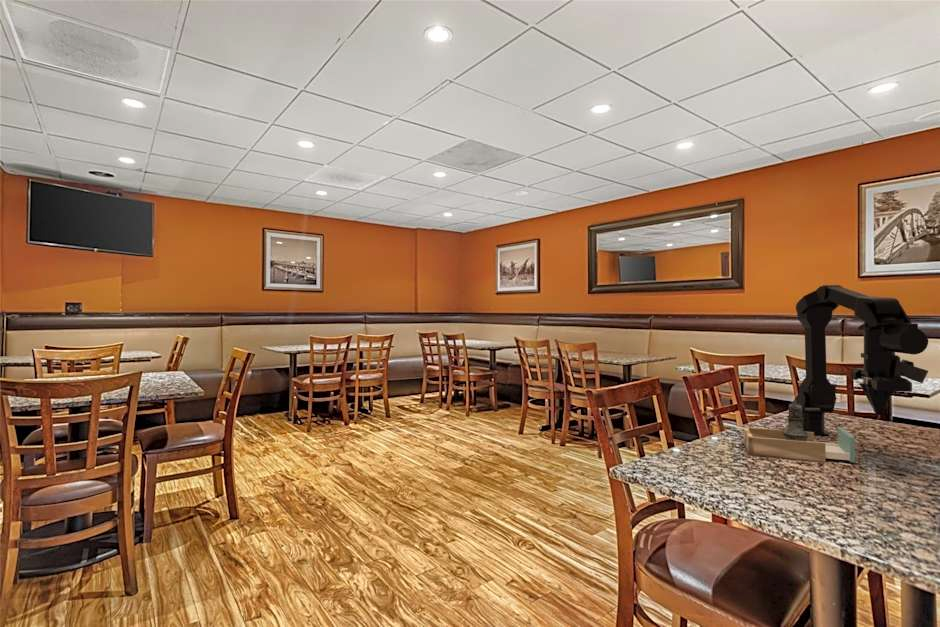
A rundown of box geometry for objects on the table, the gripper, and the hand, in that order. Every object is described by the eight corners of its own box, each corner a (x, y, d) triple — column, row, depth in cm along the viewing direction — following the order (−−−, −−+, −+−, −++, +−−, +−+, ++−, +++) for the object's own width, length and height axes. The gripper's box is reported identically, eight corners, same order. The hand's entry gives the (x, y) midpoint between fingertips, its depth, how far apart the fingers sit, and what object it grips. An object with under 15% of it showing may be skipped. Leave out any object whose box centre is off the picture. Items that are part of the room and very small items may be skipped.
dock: (743, 443, 131) (743, 426, 131) (813, 449, 125) (813, 432, 125) (748, 454, 121) (748, 437, 121) (825, 462, 114) (825, 443, 114)
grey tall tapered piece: (776, 445, 123) (776, 398, 123) (790, 442, 125) (790, 396, 125) (800, 451, 118) (800, 402, 118) (814, 448, 120) (814, 400, 120)
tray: (771, 445, 127) (771, 423, 127) (843, 452, 121) (843, 428, 121) (777, 455, 119) (777, 431, 119) (855, 462, 113) (855, 437, 113)
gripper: (943, 355, 102) (942, 427, 103) (905, 347, 120) (905, 409, 120) (877, 353, 107) (877, 422, 107) (850, 346, 124) (850, 406, 124)
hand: (879, 414), depth 115 cm, fingers closed
